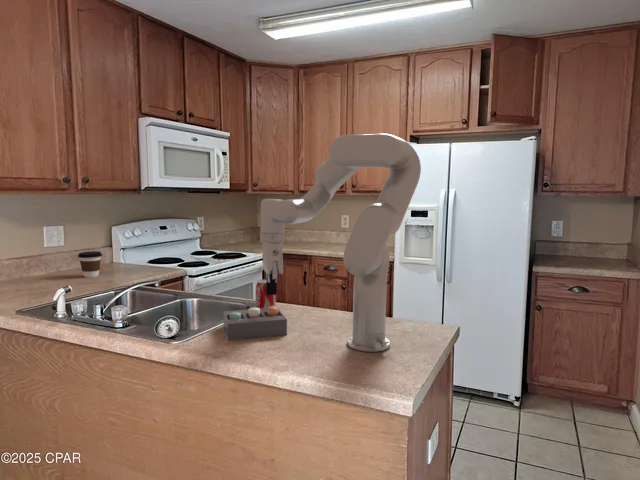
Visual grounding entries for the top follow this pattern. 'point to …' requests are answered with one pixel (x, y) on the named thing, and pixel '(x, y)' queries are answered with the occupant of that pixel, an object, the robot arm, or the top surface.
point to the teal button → (235, 315)
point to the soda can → (263, 296)
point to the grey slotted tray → (254, 325)
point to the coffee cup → (90, 263)
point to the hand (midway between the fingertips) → (271, 294)
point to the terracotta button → (272, 311)
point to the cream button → (254, 312)
